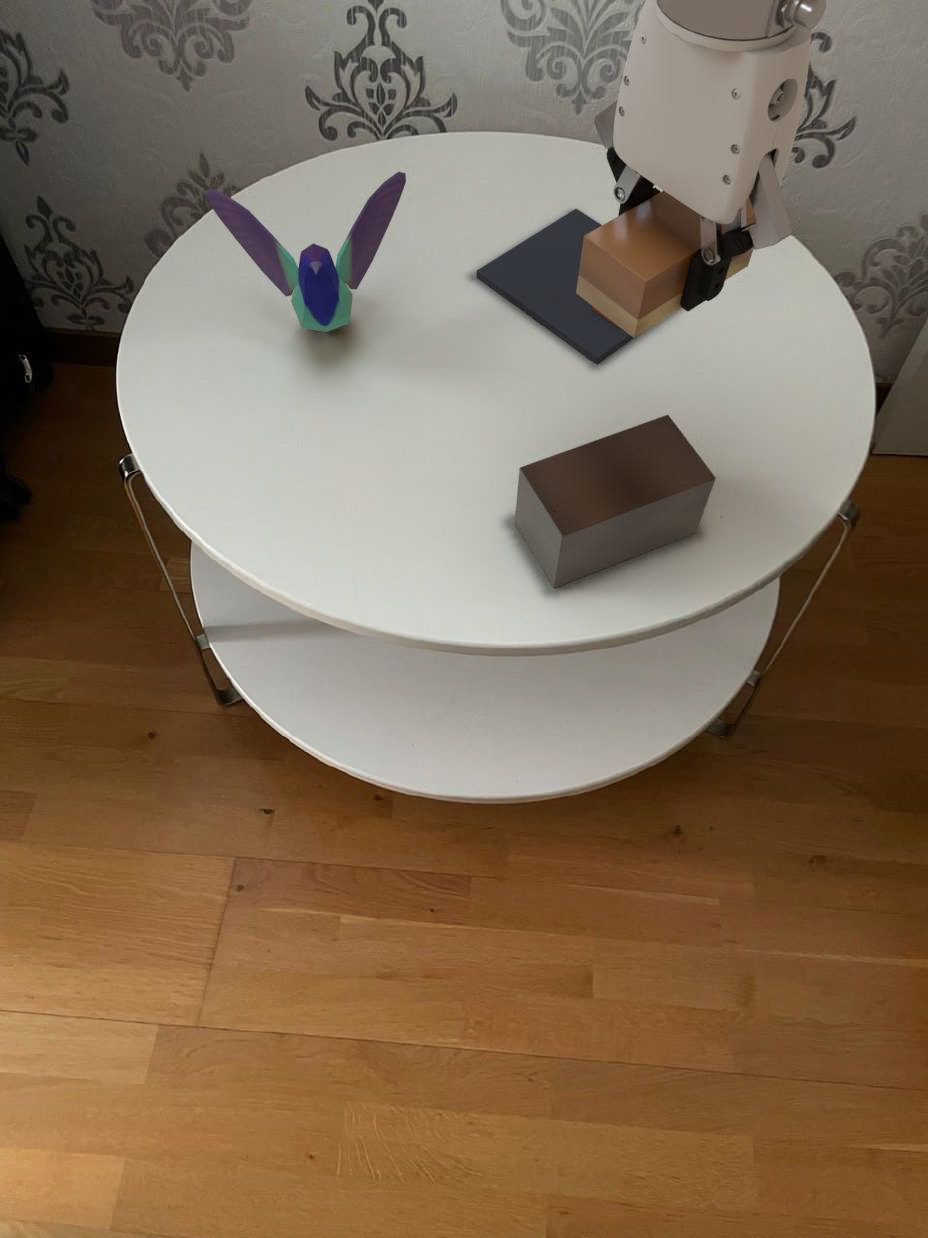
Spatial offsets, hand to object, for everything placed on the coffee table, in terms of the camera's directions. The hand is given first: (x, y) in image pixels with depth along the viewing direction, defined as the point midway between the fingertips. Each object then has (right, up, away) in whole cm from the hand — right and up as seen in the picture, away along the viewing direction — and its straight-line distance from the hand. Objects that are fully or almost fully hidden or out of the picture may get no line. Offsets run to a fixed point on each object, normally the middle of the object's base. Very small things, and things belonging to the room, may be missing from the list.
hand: (664, 272), depth 63 cm
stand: (-2, -16, +14) cm, 21 cm away
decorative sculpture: (-26, +3, +25) cm, 36 cm away
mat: (-2, +9, +28) cm, 30 cm away
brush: (0, 0, 0) cm, 1 cm away
